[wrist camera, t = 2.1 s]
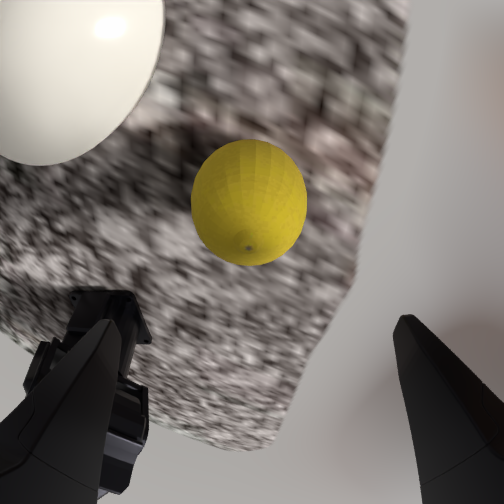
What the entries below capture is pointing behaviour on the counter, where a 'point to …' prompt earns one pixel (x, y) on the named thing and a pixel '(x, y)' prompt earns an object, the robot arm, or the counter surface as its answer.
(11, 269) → the counter surface
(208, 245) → the lemon
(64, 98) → the plate
